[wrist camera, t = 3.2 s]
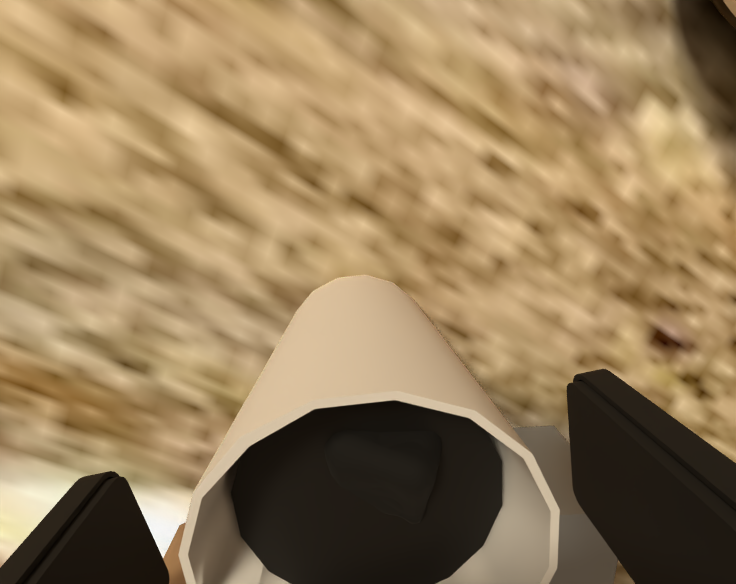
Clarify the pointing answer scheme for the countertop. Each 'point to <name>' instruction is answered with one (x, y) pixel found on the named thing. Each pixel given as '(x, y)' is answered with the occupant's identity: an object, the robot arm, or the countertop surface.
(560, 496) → the slate-grey block
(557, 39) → the countertop surface
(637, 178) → the countertop surface
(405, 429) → the cream cup
